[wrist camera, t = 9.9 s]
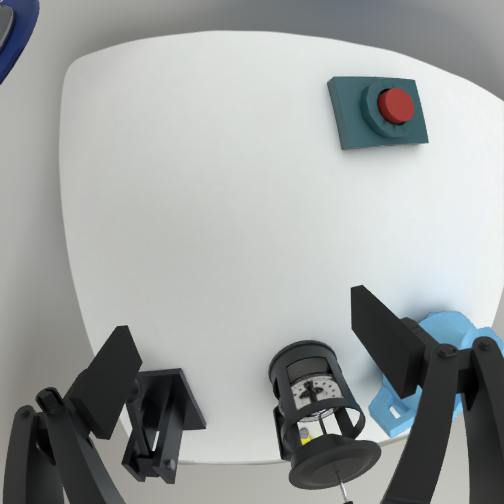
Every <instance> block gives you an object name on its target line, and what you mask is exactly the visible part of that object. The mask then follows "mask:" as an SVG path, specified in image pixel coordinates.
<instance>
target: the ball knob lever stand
mask: <svg viewBox="0 0 504 504" xmlns="http://www.w3.org/2000/svg"><path fill="white" fill-rule="evenodd" d="M135 379H136V380H137V381H138V382H139V384H140V386H141V390H142V393H141V396H140V398H139V399H138V400H137V404H138V408H139V412H140V415H141V419H142V422H143V426H144V429H145V432H146V436H147V439H148V442H149V445H150V448H151V451H152V449H153V445H154V440H155V437H156V433H157V431H160V432H159V436H158V441H157V445H156V449H155V453H154V458H153V462H152V468H153V469H154V470H155V471H156V472H157V473H158V475H159V476H160V477H161V478H162V479H163V480H164V481H165V482H166V483H167V484H174V483H175V476H176V469H177V463H178V456H179V450H180V444H181V438H182V432H183V430H200V429H206V422H205V420H204V418H203V416H202V414H201V412H200V410H199V408H198V406H197V404H196V401H195V399H194V397H193V395H192V393H191V390H190V388H189V386H188V384H187V381H186V379H185V377H184V374H183V372H182V369H181V368H179V369H170V370H159V371H147V372H138V374H137V376H136V378H135ZM140 453H141V452H140V450H139V447H138V444H137V441H136V438H135V434H134V431H133V429H132V432H131V435H130V438H129V441H128V444H127V447H126V451H125V454H124V457H123V460H122V465H123V466H124V467H125V468H126V469H127V471H129V473H130V474H131V475H132V476H133V477H134V478H135V479H136V480H137V481H140V482H145V478H146V476H142V474H141V471H140V469H139V466H138V464H137V461H136V457H137V456H138V455H139V454H140Z"/></svg>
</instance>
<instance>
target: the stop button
mask: <svg viewBox="0 0 504 504" xmlns="http://www.w3.org/2000/svg"><path fill="white" fill-rule="evenodd" d="M378 107H379V110H380V113H381V114H382V116H383V117H384V118H385V119H386V120H387V121H389V122H391V123H400V122H404V121H408V120H410V119H411V118H412V116H413V114H414V104H413V101H412V99H411V98H410V96H409V95H408V94H407V93H406V92H405V91H403V90H402V89H399V88H392V89H390V90H388V91H386V92H384V93H382V94H381V95H380V97H379V99H378Z"/></svg>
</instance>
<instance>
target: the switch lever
mask: <svg viewBox="0 0 504 504" xmlns="http://www.w3.org/2000/svg"><path fill="white" fill-rule="evenodd" d="M141 393H142V390H141V386H140V384H139V382H138V381H137V380H136V379H135V380H134V383H133V385H132V387H131V390H130V392H129V394H128V397H127V399H126V401H125V403H126V407H127V411H128V414H129V418H130V421H131V425H132V428H133V431H134V434H135V438H136V441H137V444H138V447H139V450H140V452H141V453H140V454H139V455H138V456H137V457H136V461H137V464H138V466H139V469H140V471H141V474H142V476H147V477H159V475H158V473H157V472H156V471H155V470H154V469H153V468H152V462H153V458H154V453H155V451H151V448H150V445H149V442H148V439H147V436H146V432H145V429H144V426H143V422H142V419H141V415H140V412H139V408H138V404H137V400H138V399H139V398H140V396H141Z"/></svg>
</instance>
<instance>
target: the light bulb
mask: <svg viewBox="0 0 504 504" xmlns="http://www.w3.org/2000/svg"><path fill="white" fill-rule="evenodd" d="M300 437H301V441H302V446H303V445H304V444H305V443H307V442H309V441H311V439H310V436H308V430H306V429H303V430H302V431H300Z"/></svg>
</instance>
